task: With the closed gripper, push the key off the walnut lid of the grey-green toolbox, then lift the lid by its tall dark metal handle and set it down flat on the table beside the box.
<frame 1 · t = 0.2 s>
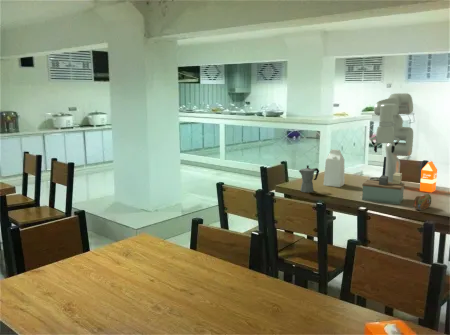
hand: (383, 152, 258), 30 cm above the table, tool pointing down, fingers open, 9 cm apart
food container: (376, 192, 283), on the table
tin: (421, 209, 244), on the table
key: (397, 178, 264), point 13 cm above the table, slide at 0.0 cm
toolbox: (382, 199, 265), on the table
lid: (383, 185, 263), point 9 cm above the table, touching toolbox
coffeepot: (308, 191, 289), on the table
orange juice: (427, 190, 287), on the table
milk: (334, 184, 307), on the table
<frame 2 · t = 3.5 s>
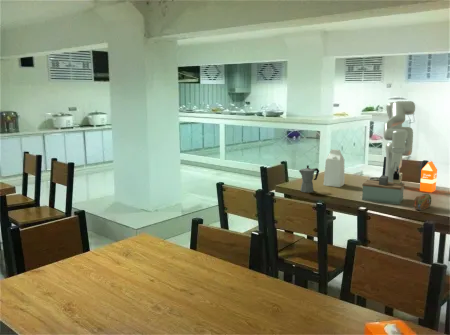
hand: (396, 179, 260), 13 cm above the table, tool pointing down, fingers closed
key: (397, 178, 265), point 13 cm above the table, slide at 1.4 cm, touching gripper
everything else where it was.
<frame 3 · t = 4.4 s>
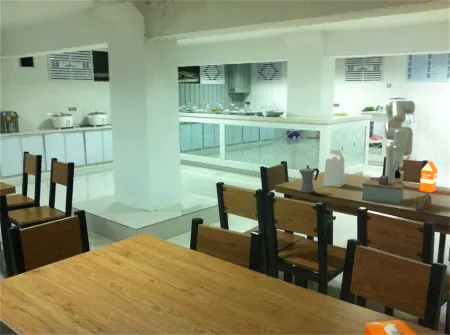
hand: (397, 177, 264), 13 cm above the table, tool pointing down, fingers closed
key: (399, 176, 270), point 13 cm above the table, slide at 6.7 cm, touching gripper
everything else where it was.
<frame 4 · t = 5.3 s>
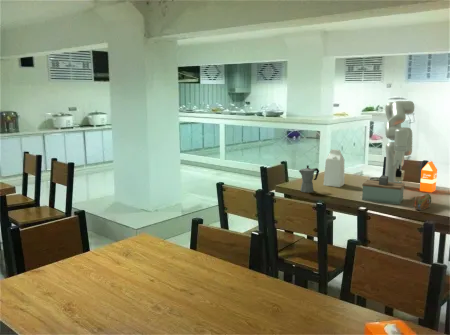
hand: (398, 176, 267), 14 cm above the table, tool pointing down, fingers closed
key: (399, 175, 272), point 13 cm above the table, slide at 9.9 cm, touching gripper
everything else where it was.
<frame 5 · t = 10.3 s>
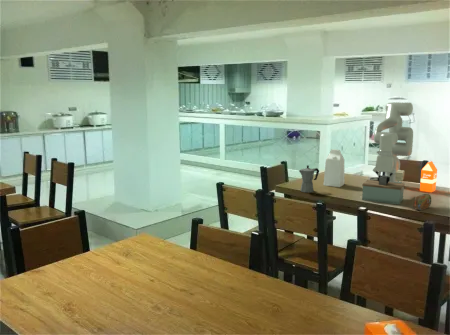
hand: (383, 182, 263), 11 cm above the table, tool pointing down, fingers closed on lid, 4 cm apart
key: (399, 175, 273), point 13 cm above the table, slide at 10.2 cm
lid: (383, 185, 263), point 9 cm above the table, touching gripper, toolbox
everything else where it was.
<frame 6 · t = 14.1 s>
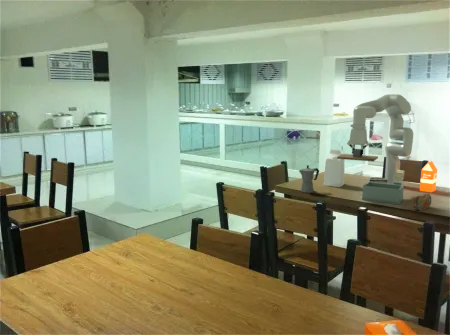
hand: (357, 154, 269), 27 cm above the table, tool pointing down, fingers closed on lid, 4 cm apart
lid: (357, 158, 269), point 25 cm above the table, touching gripper
everything else where it was.
when the fingers open (4 cm above the table, at t = 18.2 s): lid drops 2 cm, on the table.
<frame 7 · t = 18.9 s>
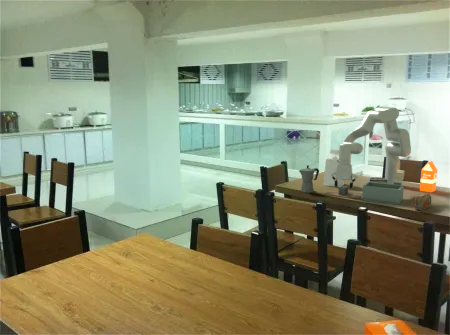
hand: (343, 187, 277), 5 cm above the table, tool pointing down, fingers open, 9 cm apart
lid: (343, 195, 278), on the table
everything else where it was.
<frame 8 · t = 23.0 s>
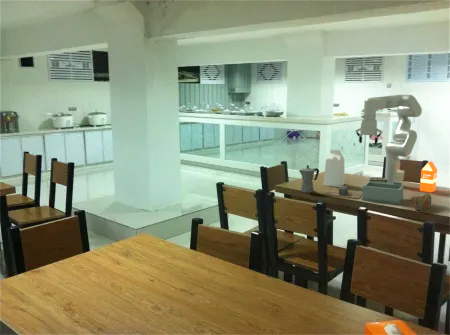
hand: (368, 143, 279), 33 cm above the table, tool pointing down, fingers open, 9 cm apart
nothing on the table moved.
at the end: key slide at 10.2 cm; lid inside the target area (0.1 cm from its centre), on the table; lid tilted 0° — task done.
